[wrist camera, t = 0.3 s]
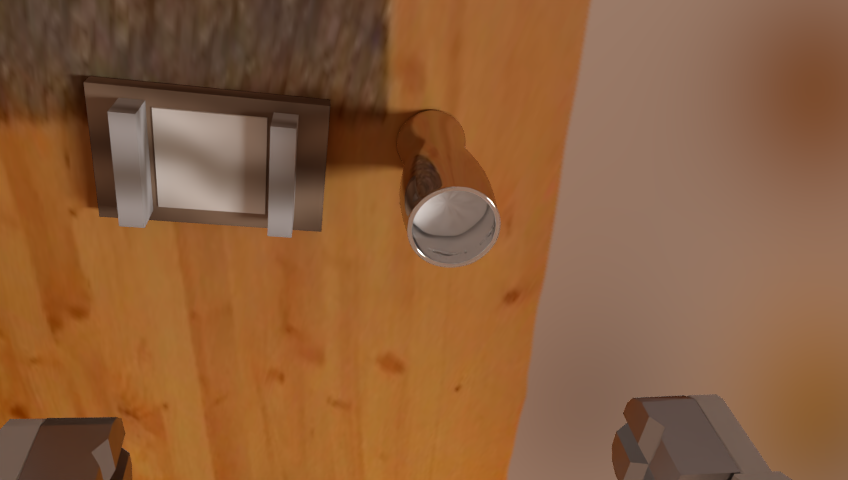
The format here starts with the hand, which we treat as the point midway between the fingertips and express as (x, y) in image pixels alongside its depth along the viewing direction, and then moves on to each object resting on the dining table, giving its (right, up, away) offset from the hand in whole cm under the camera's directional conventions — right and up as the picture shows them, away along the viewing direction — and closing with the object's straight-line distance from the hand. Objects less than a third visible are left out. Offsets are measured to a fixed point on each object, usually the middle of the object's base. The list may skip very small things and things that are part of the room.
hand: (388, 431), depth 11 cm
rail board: (-17, +10, +48) cm, 52 cm away
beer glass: (+1, +12, +49) cm, 51 cm away
